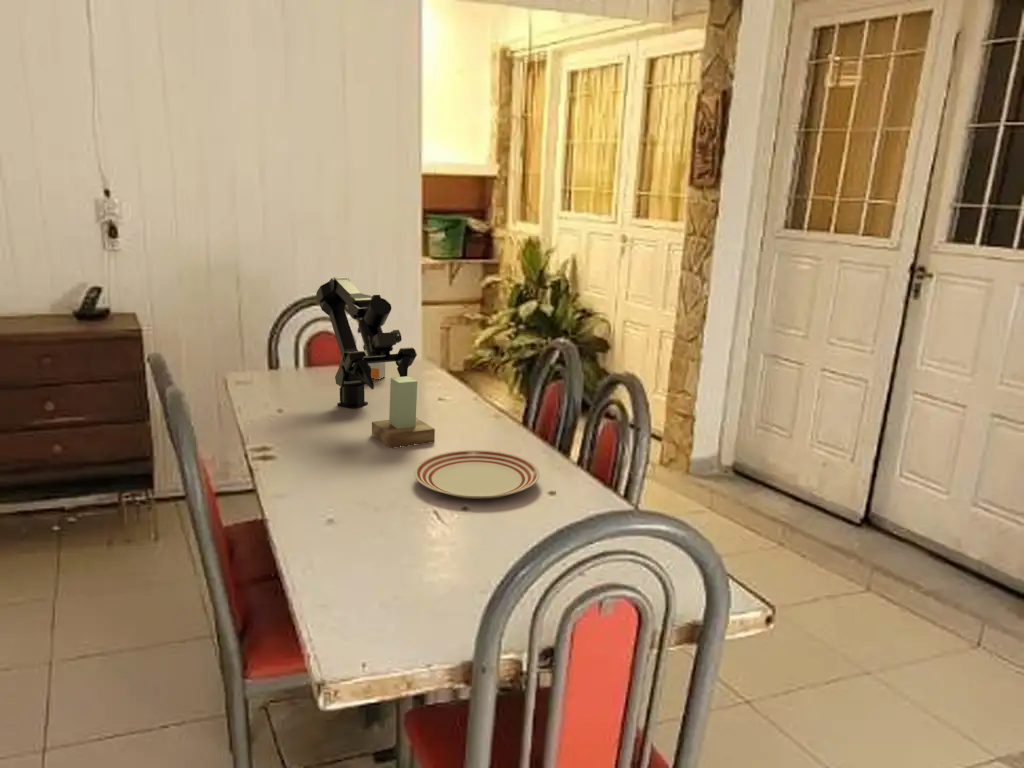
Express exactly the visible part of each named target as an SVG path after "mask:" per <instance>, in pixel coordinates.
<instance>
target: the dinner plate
mask: <svg viewBox="0 0 1024 768" xmlns="http://www.w3.org/2000/svg"><path fill="white" fill-rule="evenodd" d="M413 474H414V477H415V479H416V481H417V482H419V483H420V484H421V485H422V486H423V487H425V488H427V489H430V490H432V491H434V492H436V493H437V492H438V493H441V494H445V495H449V496H453V497H457V498H464V499H473V500H474V499H479V500H480V499H483V500H484V499H494V498H501V497H502V498H503V497H506V496H511V495H514V494H517V493H520V492H522V491H524V490H527V489H529V488H530V487H532V486H534V485H535V484H536V483H537V482H538V481H539V479H540V476H541V475H540V470H539V468H538V467H537V466H536V465H535V464H534V463H533V462H532V461H530V460H528V459H526V458H524V457H521V456H519V455H516V454H512V453H507V452H504V451H503V452H501V451H494V450H485V449H484V450H483V449H481V450H480V449H479V450H478V449H475V450H474V449H470V450H469V449H468V450H467V449H465V450H456V451H455V450H454V451H449V452H444V453H439V454H435V455H433V456H430V457H428V458H425V459H424V460H422V461H421V462H419V463H418V464H417V465H416V467H415V469H414V471H413Z"/></svg>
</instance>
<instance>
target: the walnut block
mask: <svg viewBox="0 0 1024 768" xmlns="http://www.w3.org/2000/svg"><path fill="white" fill-rule="evenodd" d="M435 434H436V430H435V428H434V427H432V426H431V425H429V424H427V423H426V422H425V421H423V420H421V419H419V418H418V417H416V426H415V427H411V428H402V429H397V428H395V427H394V426H392V425H391V424H390V423H389V419H385V420H378V421H377V420H376V421H371V436H372V435H374V436H375V437H376V438H375V437H374V436H373V437H374V438H375V439H377V440H378V439H379V440H380V441H379V440H378V441H379V442H381V443H382V442H383V443H384V444H383V443H382V444H383V445H385V444H386V445H387V446H389V447H390V448H391V449H395V448H394V447H398V448H403V447H402V446H405V447H409V446H408V445H412V446H415V445H414V444H419V445H422V444H421V443H426V444H430V443H429V442H433V443H435V440H436V439H435ZM386 445H385V446H386ZM387 446H386V447H387ZM400 446H401V447H400ZM389 447H388V448H389ZM390 448H389V449H390Z"/></svg>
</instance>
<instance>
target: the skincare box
mask: <svg viewBox="0 0 1024 768" xmlns="http://www.w3.org/2000/svg"><path fill="white" fill-rule="evenodd" d="M363 351H364V352H365V354H366V356H368V354H367V351H366V350H364V349H363ZM369 365H370V367H371V378H374V379H373V380H376V379H381V378H383V377H385V378H386V362H384V363H369ZM383 379H384V378H383ZM381 380H382V379H381Z"/></svg>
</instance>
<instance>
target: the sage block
mask: <svg viewBox="0 0 1024 768" xmlns="http://www.w3.org/2000/svg"><path fill="white" fill-rule="evenodd" d="M389 386H390V388H389V417H388V420H389V423H390V424H391V425H392V426H394V427H395V428H397V429H402V428H411V427H415V426H416V418H417V399H418V397H417V395H418V380H416V379H414V378H413V377H411V376H409V375H407V376H405V377H400V376H396V377H390V385H389Z"/></svg>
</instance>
